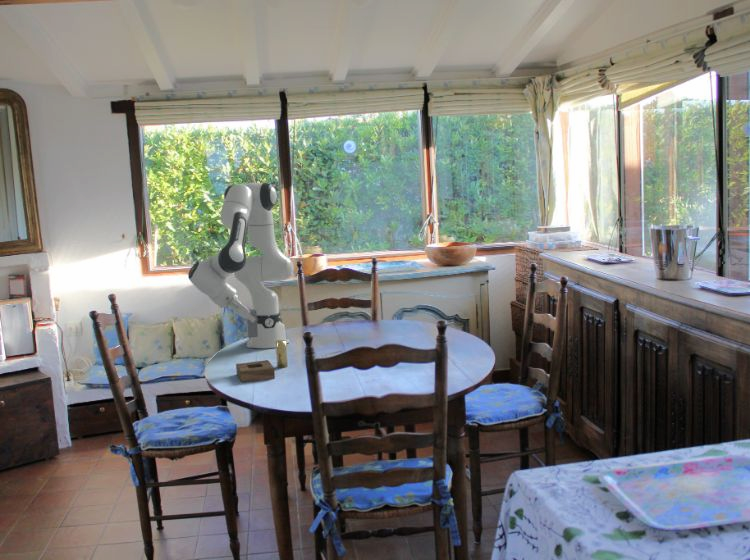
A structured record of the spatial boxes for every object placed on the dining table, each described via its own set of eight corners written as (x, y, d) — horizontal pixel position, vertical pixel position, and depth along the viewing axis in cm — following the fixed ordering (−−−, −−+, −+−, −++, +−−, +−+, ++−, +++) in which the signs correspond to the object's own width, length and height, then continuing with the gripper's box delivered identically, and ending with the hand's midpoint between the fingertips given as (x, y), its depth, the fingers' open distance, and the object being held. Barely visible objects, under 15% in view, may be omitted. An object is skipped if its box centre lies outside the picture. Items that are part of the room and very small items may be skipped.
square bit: (246, 336, 275) (245, 310, 274) (256, 335, 276) (254, 309, 275) (248, 337, 272) (246, 311, 271) (257, 336, 273) (256, 310, 272)
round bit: (276, 365, 280) (274, 340, 278) (286, 364, 281) (284, 339, 279) (278, 368, 276) (276, 342, 274) (288, 367, 277) (287, 341, 276)
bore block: (236, 374, 270) (236, 363, 269) (268, 370, 274) (267, 360, 273) (241, 382, 259) (241, 371, 258) (274, 378, 262) (274, 367, 262)
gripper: (235, 293, 260) (263, 317, 264) (227, 286, 279) (254, 309, 283) (223, 306, 259) (252, 330, 263) (216, 299, 278) (243, 321, 283)
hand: (253, 319), depth 274 cm, fingers closed on square bit, 4 cm apart
